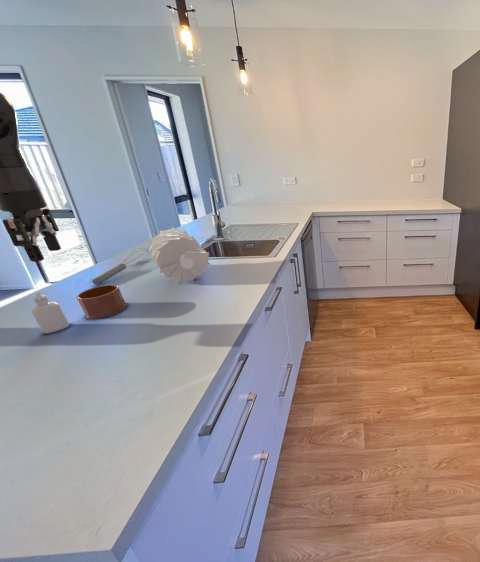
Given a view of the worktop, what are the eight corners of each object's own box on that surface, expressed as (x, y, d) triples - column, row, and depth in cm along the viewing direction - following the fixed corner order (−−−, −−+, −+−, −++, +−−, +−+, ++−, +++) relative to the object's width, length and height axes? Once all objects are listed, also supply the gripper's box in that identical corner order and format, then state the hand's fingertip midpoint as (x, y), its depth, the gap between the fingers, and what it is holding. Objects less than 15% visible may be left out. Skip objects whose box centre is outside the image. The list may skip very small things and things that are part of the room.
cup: (80, 321, 92) (70, 301, 89) (93, 307, 101) (84, 288, 98) (121, 314, 96) (112, 294, 93) (129, 300, 104) (122, 282, 101)
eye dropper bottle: (49, 327, 90) (29, 291, 85) (72, 323, 91) (54, 288, 86) (40, 335, 86) (18, 298, 81) (64, 330, 88) (45, 294, 83)
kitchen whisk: (84, 288, 115) (77, 272, 112) (144, 258, 146) (140, 245, 143) (99, 287, 115) (93, 272, 112) (157, 257, 146) (153, 245, 143)
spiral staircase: (182, 294, 116) (169, 273, 133) (221, 266, 123) (204, 249, 139) (144, 260, 104) (135, 242, 121) (189, 231, 110) (174, 217, 127)
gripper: (12, 185, 73) (42, 249, 79) (-31, 193, 61) (9, 267, 67) (52, 184, 75) (78, 245, 82) (18, 191, 64) (52, 262, 70)
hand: (47, 255), depth 75 cm, fingers open, 8 cm apart
